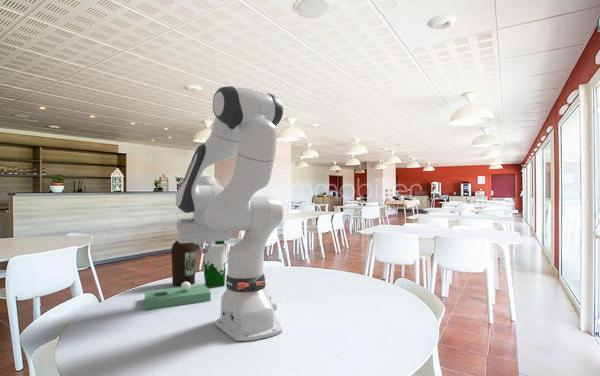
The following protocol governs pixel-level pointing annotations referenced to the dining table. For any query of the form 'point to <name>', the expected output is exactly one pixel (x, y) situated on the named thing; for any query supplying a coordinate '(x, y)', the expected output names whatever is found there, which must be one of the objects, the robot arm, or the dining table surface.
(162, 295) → the putting mat
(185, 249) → the brown cylinder
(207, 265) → the milk carton
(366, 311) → the dining table surface
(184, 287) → the golf ball
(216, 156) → the robot arm
